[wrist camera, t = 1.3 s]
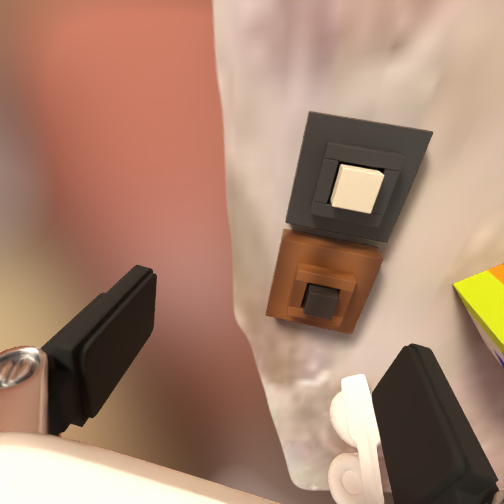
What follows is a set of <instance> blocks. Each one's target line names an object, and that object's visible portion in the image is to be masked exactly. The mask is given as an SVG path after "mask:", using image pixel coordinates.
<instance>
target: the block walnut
mask: <svg viewBox="0 0 504 504" xmlns="http://www.w3.org/2000/svg"><path fill="white" fill-rule="evenodd" d="M382 261H383V258H382V256H381V254H380V252H379V250H378V249H377V247H374V246H369V245H364V244H359V243H354V242H349V241H344V240H339V239H333V238H328V237H323V236H318V235H313V234H308V233H303V232H298V231H293V230H288V229H283V234H282V239H281V243H280V248H279V253H278V257H277V262H276V267H275V271H274V276H273V281H272V285H271V290H270V295H269V299H268V304H267V310H266V316H270V317H275V318H279V319H284V320H288V321H293V322H297V323H302V324H306V325H311V326H315V327H320V328H324V329H329V330H333V331H338V332H342V333H347V334H352V332H353V330H354V327H355V325H356V323H357V320H358V318H359V316H360V313H361V311H362V308H363V306H364V304H365V301H366V299H367V297H368V294H369V292H370V290H371V287H372V285H373V282H374V280H375V278H376V275H377V273H378V271H379V268H380V266H381V263H382ZM309 284H313V285H318V286H323V287H328V288H332V289H337V293H338V298H339V299H338V301H337V304H336V307H335V310H334V313H333V315H332V318H331V320H327V319H323V318H318V317H314V316H309V315H305V314H303V304H304V301H305V297H306V294H307V290H308V287H309Z"/></svg>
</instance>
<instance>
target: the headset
mask: <svg viewBox="0 0 504 504" xmlns="http://www.w3.org/2000/svg"><path fill="white" fill-rule="evenodd" d="M341 385H342V391H341V392H339V393H338V394H337V395H336V396H335V397H334V398H333V400H332V402H331V405H330V419H331V423H332V425H333V428H334V429H335V431H336V433H337V434H338V435H339V437H340V438H341V439H342V440H343V441H345V442H346V443H347V444H349V445H351V446H352V447H355V448H357V450H358V453H343V454H340V455H338V456H337V457H335V458H334V459H333V461H332V462H331V464H330V467H329V471H328V484H329V488H330V492H331V494H332V496H333V498H334V500H335V502H336V503H337V504H384V497H383V490H382V483H381V476H380V470H379V463H378V456H377V447H378V446H379V445H380V444H381V440H380V436H379V431H378V427H377V422H376V418H375V413H374V409H373V404H372V396H371V395H370V391H369V387H368V383H367V380H366V377H365V375H364V374H360V375H354V376H349V377H346V378H343V379H342V383H341Z"/></svg>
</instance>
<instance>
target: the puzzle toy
mask: <svg viewBox="0 0 504 504" xmlns="http://www.w3.org/2000/svg"><path fill="white" fill-rule="evenodd" d="M453 286H454V287H455V289H456V291H457V293H458V295H459V297H460V298H461V300H462V302H463V304H464V306H465V308H466V309H467V311H468V313H469V315H470V317H471V319H472V320H473V322H474V324H475V326H476V328H477V330H478V331H479V333H480V335H481V337H482V339H483V341H484V342H485V344H486V346H487V347H488V349H489V350H490V351H491V353H492V354H493V355H494V356H495V358H496V359H497V360H498V362H499V363H500V364H501V366H502V367H503V368H504V264H501V265H499V266H496V267H494V268H491V269H489V270H486V271H484V272H481V273H479V274H476V275H474V276H471V277H469V278H467V279H464V280H462V281H459V282H457V283H454V284H453Z"/></svg>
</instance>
